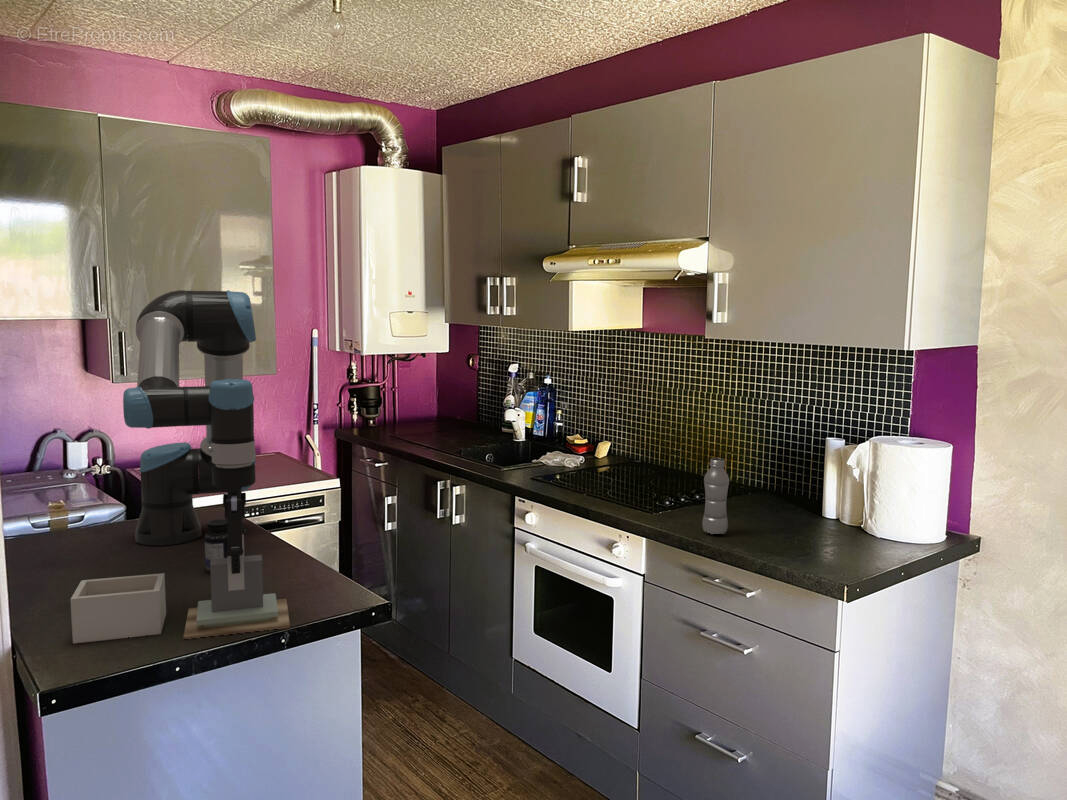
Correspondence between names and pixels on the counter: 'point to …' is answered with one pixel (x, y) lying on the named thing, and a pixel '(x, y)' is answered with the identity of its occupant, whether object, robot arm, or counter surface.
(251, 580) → the green base grey block
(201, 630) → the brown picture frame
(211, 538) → the pill bottle
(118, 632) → the storage box
